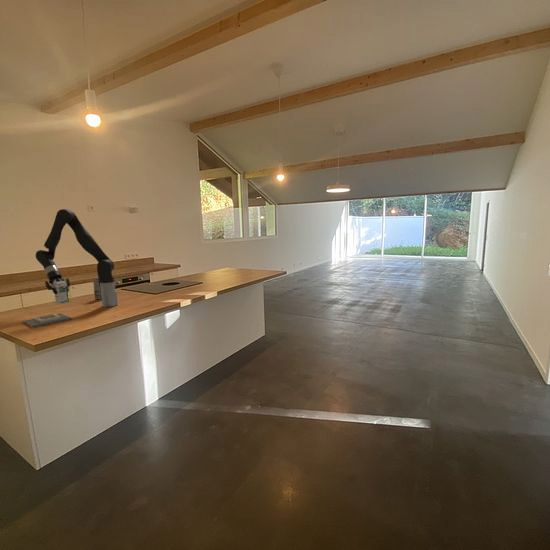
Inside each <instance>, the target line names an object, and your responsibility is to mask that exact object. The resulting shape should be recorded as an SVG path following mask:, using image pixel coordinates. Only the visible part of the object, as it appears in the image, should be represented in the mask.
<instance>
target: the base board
mask: <svg viewBox="0 0 550 550" xmlns="http://www.w3.org/2000/svg"><path fill="white" fill-rule="evenodd" d="M70 319H72V320H73V318H72V317H71V316H69V315H66V314H63V313H52V314H45V315H40V316H35V317H34V318H31V319H26V320H25V319H24V320H22V321H23V322H24V323H23V322H22V323H23V324H25V323H26V324H25V325H27V324H28V325H27V326H29V325H30V326H32V327H35V328H38V327H37V326H40V327H43V326H42V325H44V326H48V325H47V324H49V325H52V324H51V323H54V324H57V323H56V322H58V323H61V322H60V321H63V322H66V321H65V320H68V321H71V320H70ZM30 326H29V327H30ZM32 327H31V328H32Z"/></svg>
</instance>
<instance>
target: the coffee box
mask: <svg viewBox="0 0 550 550" xmlns="http://www.w3.org/2000/svg"><path fill="white" fill-rule="evenodd" d="M92 280H93V281H92V282H93V292H94V293H93V295H94V300H95V299H99V300H98V301H102V297H101V288H100V280H99V278H95V279H92Z"/></svg>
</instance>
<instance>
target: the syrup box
mask: <svg viewBox="0 0 550 550" xmlns="http://www.w3.org/2000/svg"><path fill="white" fill-rule="evenodd" d="M53 284H54V286H55V287H54V288H55V289H56V291H57V294H54V299H55V304H57V305H63V304H69V303H70V300H69V299H70V297H69V291H67V283H66V281H59V282H53Z"/></svg>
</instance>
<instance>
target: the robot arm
mask: <svg viewBox="0 0 550 550" xmlns="http://www.w3.org/2000/svg"><path fill="white" fill-rule="evenodd" d="M77 216H78V215H76V213H75V212H74V211H73V210H71V209H65V208H64V209H63V208H62V209H59V210H58V211H57V212H56V215H55V218H54V222H53V225H52V227H51V229H50V232H49V235H48V236H47V238H46V239H45V242H44V244H43V247H44V248H46V249H47V250H43V249H40V250H37V251H36V252H35V259H36V260H37V261H38V262H39V263H40V265H41V266H42V268H43V269H44V273H45V275H46V277H47V280H46V281H44V285H45V287H46V289H47V290H48V291H51V292H52V293H53V294H54V295H55V294H57V291H56V289H55V288H54V287H55V286H54V284H53V282H59V281H66V284H67V291H68V292H69V291H70V285H71V282H70V279H69V278H68V277H67V278H63V276H62V273H61V272H60V270H59V268H58V266H57V265H56V263H55V261H54V259H55V255H56V249H57V246H58V245H59V243H60V241H61V238H62V237H61V236H62V232H63V229H64V227H65V226H66V224H67V225H68V226H69V228H71V230H72V231H73V233H74V235H75V239H76V241H77V242H78V243H79V245H80V246H81V247H82V249H83V250H85V251H86V252H87V253H88V254H89V255H90V256H92V257H93V258H94V259H95V260H96V261H97V262H98V263H97V264H96V265H97V266H96V270H97V277H98V278H97V279H99V280H100V288H101V297H102V300H101V305H102V307H103V308H109V307H115V306H118V305H119V302H118V293H117V291H116V284H115V277H113V274H112V271H113V270H114V269H115V264H114V262H113V260H112V259H111V258H110V257H109V256H108V255H107V254H106V253H105V252H104V251H103V250H102V248H101V246H99V244H98V242H97V241H96V240H95V238H94V237H93V236H92V235H91V234H90V232H89V231H88V230H87V229H86V228H85V226H84V225H83V224H82V222H81V220H79V218H78V217H77ZM51 285H52V286H51Z"/></svg>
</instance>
